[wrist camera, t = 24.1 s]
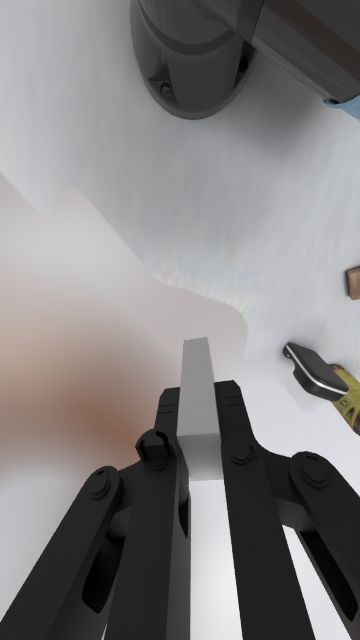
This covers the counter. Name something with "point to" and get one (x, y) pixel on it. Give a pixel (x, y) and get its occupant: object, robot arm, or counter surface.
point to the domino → (354, 283)
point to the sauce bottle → (349, 399)
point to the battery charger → (315, 374)
